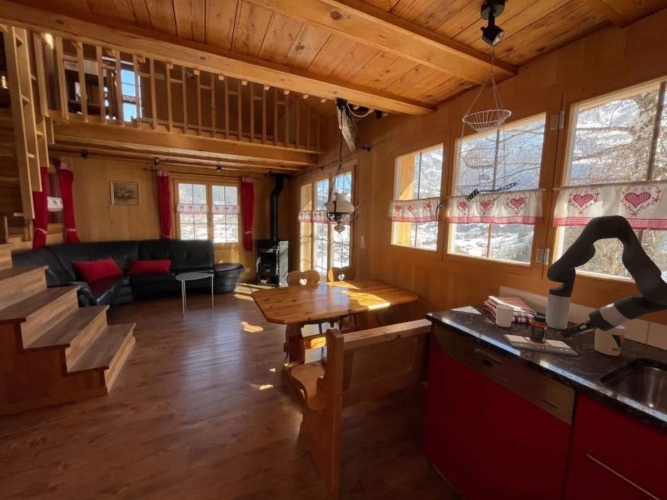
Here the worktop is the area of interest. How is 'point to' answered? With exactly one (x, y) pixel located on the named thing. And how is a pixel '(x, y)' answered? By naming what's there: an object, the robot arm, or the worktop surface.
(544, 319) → the supplement bottle
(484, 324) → the worktop surface
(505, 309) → the white cup
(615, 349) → the coffee cup
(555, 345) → the tile board
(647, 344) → the worktop surface
